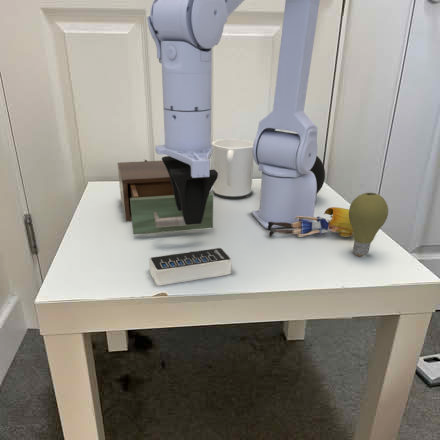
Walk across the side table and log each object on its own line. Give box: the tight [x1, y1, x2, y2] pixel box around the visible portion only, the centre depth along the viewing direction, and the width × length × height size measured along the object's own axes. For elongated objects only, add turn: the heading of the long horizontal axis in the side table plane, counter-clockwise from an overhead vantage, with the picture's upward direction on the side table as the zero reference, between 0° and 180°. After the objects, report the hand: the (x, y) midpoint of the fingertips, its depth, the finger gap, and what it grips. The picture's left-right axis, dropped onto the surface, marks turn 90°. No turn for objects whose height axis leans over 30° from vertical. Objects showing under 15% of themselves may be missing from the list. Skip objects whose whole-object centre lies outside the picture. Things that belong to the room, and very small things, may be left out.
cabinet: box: [117, 160, 171, 222], centre depth 86 cm, size 12×15×8 cm
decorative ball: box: [309, 155, 326, 195], centre depth 91 cm, size 10×10×10 cm
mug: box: [211, 138, 255, 200], centre depth 93 cm, size 11×9×10 cm
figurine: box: [267, 206, 353, 238], centre depth 76 cm, size 5×5×15 cm
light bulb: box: [348, 192, 389, 258], centre depth 68 cm, size 6×6×10 cm
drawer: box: [129, 181, 214, 235], centre depth 76 cm, size 15×13×6 cm
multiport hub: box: [148, 247, 233, 287], centre depth 64 cm, size 4×11×2 cm, turn 111°
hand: (189, 216), depth 61 cm, fingers open, 5 cm apart
